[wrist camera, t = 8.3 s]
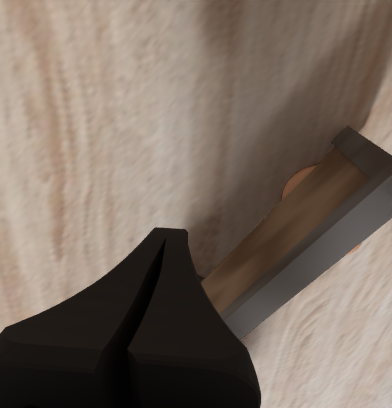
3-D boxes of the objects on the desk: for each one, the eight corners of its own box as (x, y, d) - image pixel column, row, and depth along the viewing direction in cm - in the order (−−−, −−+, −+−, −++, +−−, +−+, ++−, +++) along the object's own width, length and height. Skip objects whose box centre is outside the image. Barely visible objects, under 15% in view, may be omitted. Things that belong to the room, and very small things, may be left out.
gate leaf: (208, 292, 24) (205, 367, 19) (192, 283, 24) (184, 355, 18) (365, 141, 18) (431, 186, 12) (346, 124, 17) (404, 163, 12)
